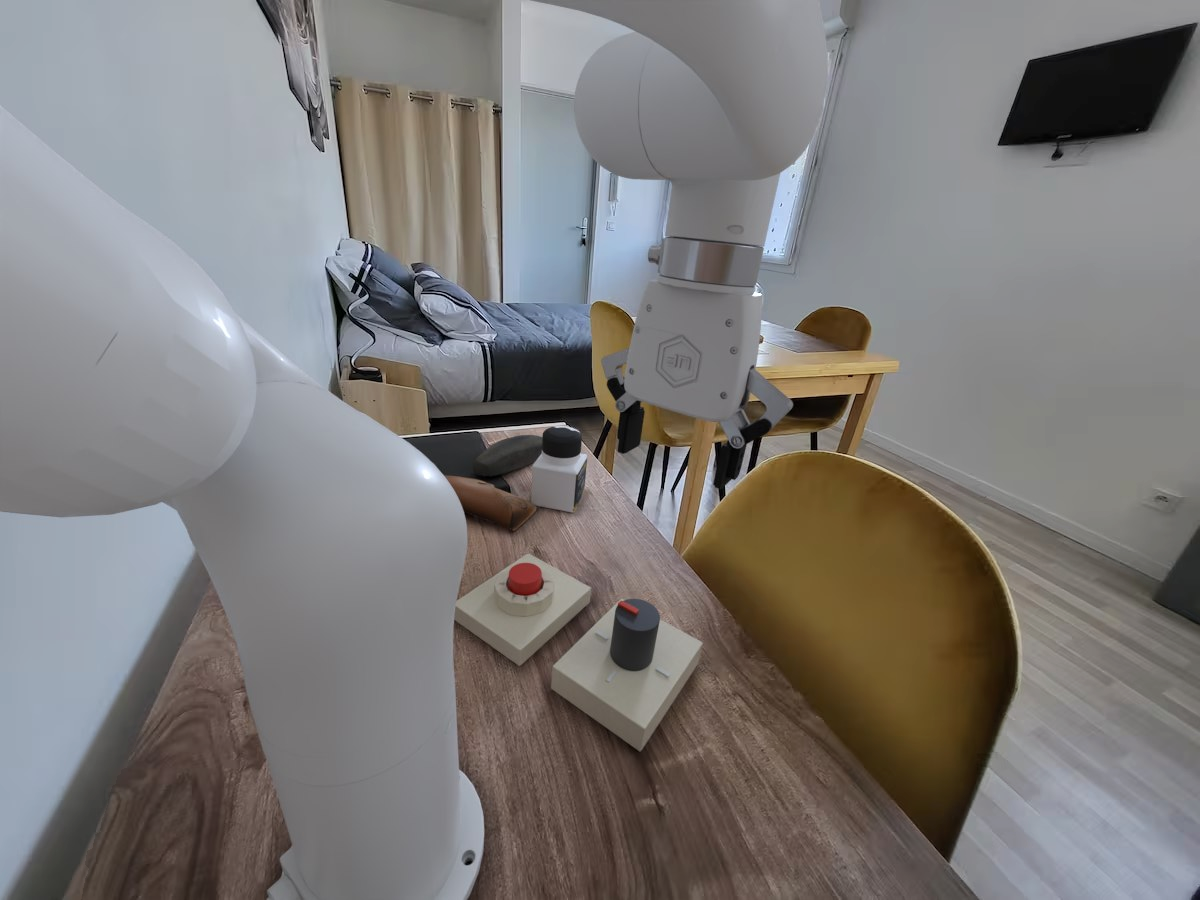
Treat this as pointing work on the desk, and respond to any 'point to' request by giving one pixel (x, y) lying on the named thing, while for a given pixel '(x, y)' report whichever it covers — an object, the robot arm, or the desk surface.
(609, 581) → the desk surface
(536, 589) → the power button
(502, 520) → the sunglasses case
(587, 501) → the desk surface
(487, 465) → the decorative stone
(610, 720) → the timer panel
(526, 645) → the button block
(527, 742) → the desk surface
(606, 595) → the desk surface
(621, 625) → the timer knob
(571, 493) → the medicine bottle
